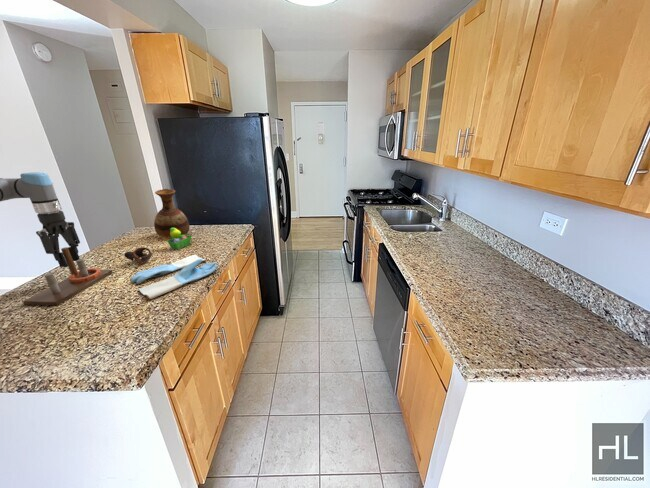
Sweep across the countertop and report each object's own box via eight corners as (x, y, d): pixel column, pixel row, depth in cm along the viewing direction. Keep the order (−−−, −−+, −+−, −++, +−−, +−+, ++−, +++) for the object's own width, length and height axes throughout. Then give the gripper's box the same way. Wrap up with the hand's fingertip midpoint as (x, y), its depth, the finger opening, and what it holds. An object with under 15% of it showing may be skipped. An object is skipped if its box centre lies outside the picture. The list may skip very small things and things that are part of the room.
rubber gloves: (124, 279, 116) (120, 266, 114) (195, 255, 140) (193, 244, 138) (150, 300, 101) (145, 286, 98) (224, 269, 125) (222, 257, 122)
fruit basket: (177, 250, 146) (173, 231, 142) (166, 248, 149) (161, 230, 145) (193, 243, 156) (190, 226, 152) (183, 241, 159) (179, 224, 155)
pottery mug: (153, 256, 140) (153, 245, 135) (151, 269, 134) (151, 259, 129) (126, 254, 134) (125, 244, 129) (122, 269, 129) (121, 258, 123)
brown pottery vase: (156, 242, 158) (144, 193, 147) (157, 232, 174) (146, 188, 163) (192, 236, 167) (182, 190, 156) (189, 228, 183) (180, 185, 172)
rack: (24, 304, 98) (13, 282, 95) (86, 272, 122) (78, 253, 119) (57, 305, 98) (47, 283, 94) (112, 272, 122) (106, 254, 118)
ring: (61, 282, 111) (49, 253, 106) (84, 270, 121) (73, 243, 116) (86, 282, 110) (75, 253, 105) (107, 270, 120) (98, 244, 115)
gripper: (34, 218, 96) (58, 273, 105) (79, 206, 113) (96, 255, 122) (14, 218, 96) (40, 273, 105) (62, 206, 113) (81, 254, 122)
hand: (70, 263), depth 113 cm, fingers open, 5 cm apart
